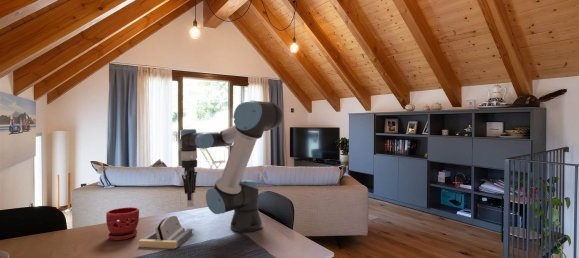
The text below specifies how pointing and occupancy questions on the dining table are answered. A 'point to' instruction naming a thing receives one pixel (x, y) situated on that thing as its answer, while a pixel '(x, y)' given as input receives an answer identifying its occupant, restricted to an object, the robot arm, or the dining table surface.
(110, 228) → the plant pot
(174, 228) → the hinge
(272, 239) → the dining table surface
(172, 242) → the bracket
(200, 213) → the dining table surface
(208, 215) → the dining table surface
